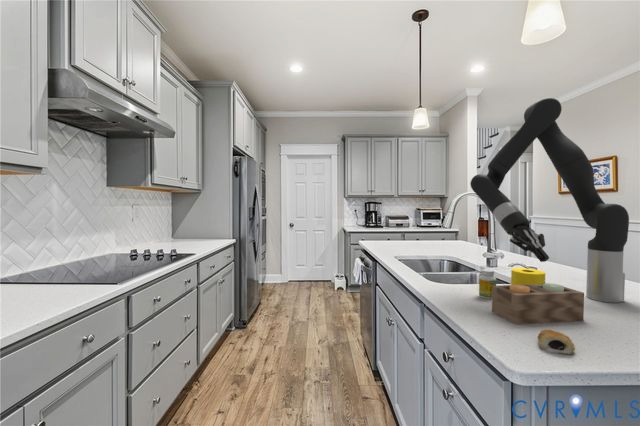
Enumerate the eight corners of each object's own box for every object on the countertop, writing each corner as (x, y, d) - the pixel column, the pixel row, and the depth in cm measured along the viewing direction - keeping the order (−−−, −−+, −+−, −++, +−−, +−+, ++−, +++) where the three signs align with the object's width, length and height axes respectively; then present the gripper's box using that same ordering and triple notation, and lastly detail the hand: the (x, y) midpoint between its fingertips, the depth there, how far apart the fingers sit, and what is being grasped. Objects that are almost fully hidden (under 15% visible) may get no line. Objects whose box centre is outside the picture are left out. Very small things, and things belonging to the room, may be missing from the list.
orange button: (520, 294, 94) (520, 284, 94) (534, 299, 89) (534, 288, 89) (505, 294, 94) (505, 284, 94) (518, 299, 89) (518, 289, 89)
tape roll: (522, 292, 117) (523, 267, 117) (551, 299, 108) (552, 272, 108) (504, 295, 113) (505, 269, 113) (532, 303, 104) (533, 275, 104)
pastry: (535, 335, 79) (536, 320, 79) (569, 342, 76) (569, 326, 76) (539, 350, 71) (539, 334, 71) (577, 358, 68) (577, 341, 67)
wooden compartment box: (553, 308, 99) (553, 283, 98) (583, 320, 89) (584, 292, 89) (491, 311, 96) (492, 285, 96) (516, 324, 86) (516, 295, 86)
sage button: (553, 292, 96) (553, 283, 96) (568, 297, 91) (568, 287, 91) (538, 293, 95) (538, 283, 95) (552, 298, 90) (553, 288, 90)
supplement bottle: (484, 294, 115) (484, 268, 114) (499, 297, 110) (499, 270, 110) (475, 296, 112) (476, 269, 111) (490, 300, 107) (491, 272, 107)
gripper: (502, 211, 102) (538, 254, 91) (532, 210, 106) (570, 251, 95) (488, 226, 107) (521, 268, 96) (518, 225, 111) (552, 265, 100)
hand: (545, 260), depth 95 cm, fingers closed
